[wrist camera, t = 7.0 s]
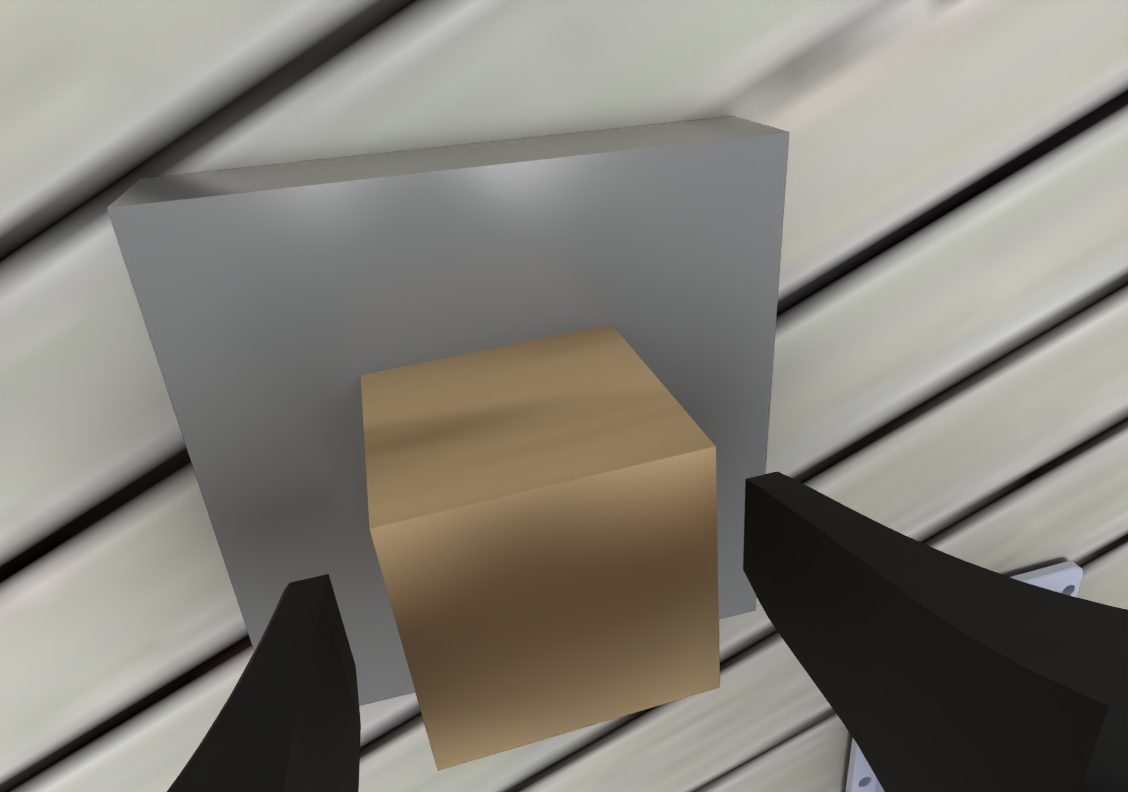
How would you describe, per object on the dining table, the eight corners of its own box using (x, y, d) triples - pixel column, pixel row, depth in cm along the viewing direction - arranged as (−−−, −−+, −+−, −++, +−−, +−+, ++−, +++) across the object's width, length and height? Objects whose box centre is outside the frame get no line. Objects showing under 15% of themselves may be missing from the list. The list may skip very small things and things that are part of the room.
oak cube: (628, 523, 18) (720, 687, 14) (412, 577, 17) (437, 771, 13) (611, 324, 16) (715, 446, 11) (360, 375, 15) (370, 528, 10)
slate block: (708, 541, 23) (755, 610, 20) (286, 634, 21) (278, 725, 18) (722, 113, 17) (789, 132, 15) (146, 172, 15) (107, 207, 12)
